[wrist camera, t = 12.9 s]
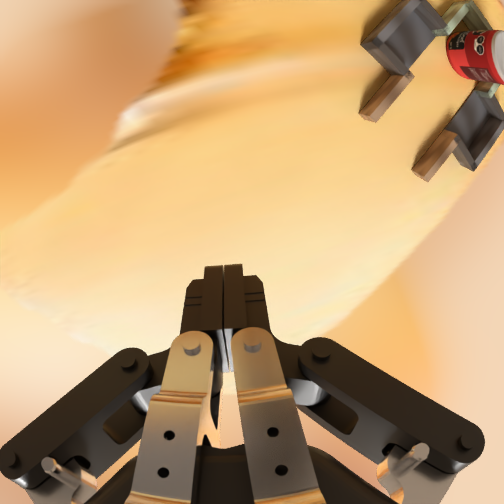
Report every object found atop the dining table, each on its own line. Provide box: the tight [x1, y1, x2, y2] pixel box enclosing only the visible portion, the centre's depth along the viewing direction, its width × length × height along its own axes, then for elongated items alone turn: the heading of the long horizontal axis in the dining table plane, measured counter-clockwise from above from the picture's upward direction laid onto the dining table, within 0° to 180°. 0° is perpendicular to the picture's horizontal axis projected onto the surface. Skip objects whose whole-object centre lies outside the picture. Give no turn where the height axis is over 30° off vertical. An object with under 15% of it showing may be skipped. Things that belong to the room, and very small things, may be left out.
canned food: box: [446, 30, 504, 85], centre depth 25 cm, size 8×8×11 cm
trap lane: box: [359, 0, 504, 182], centre depth 30 cm, size 28×25×4 cm
